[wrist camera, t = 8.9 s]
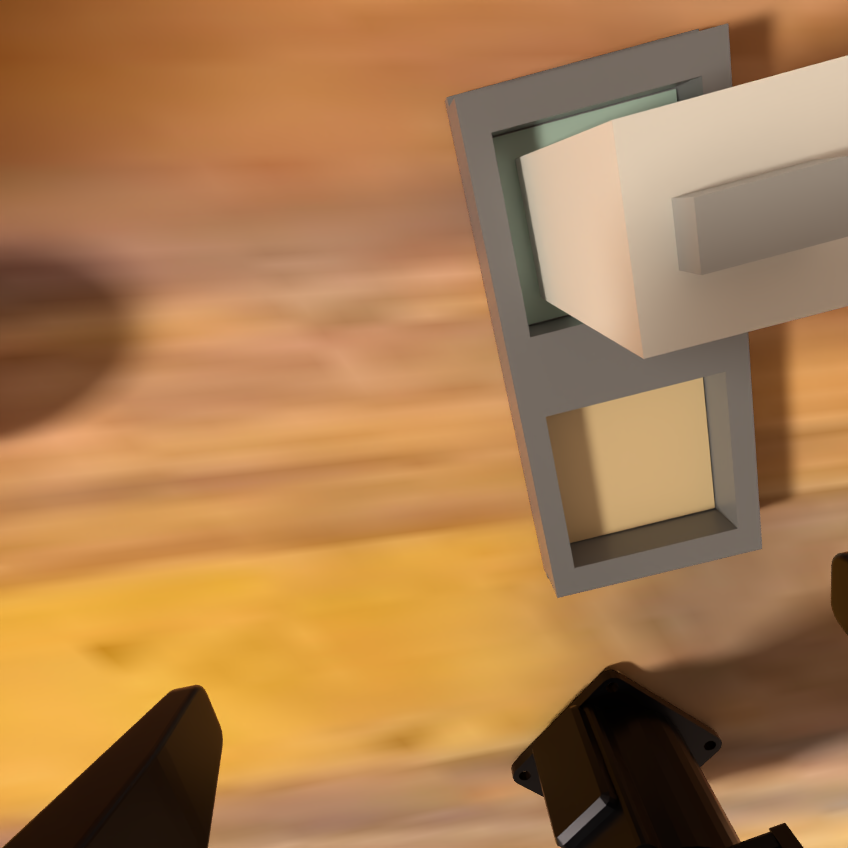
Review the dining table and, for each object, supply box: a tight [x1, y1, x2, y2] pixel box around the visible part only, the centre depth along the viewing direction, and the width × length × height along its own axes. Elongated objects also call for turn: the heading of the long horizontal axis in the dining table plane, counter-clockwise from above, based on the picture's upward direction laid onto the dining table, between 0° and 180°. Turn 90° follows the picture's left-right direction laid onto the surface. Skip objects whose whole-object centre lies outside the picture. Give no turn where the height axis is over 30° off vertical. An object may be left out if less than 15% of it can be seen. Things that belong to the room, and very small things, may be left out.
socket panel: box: [445, 24, 762, 598], centre depth 19 cm, size 16×7×2 cm, turn 14°
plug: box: [515, 55, 848, 359], centre depth 14 cm, size 4×4×9 cm
